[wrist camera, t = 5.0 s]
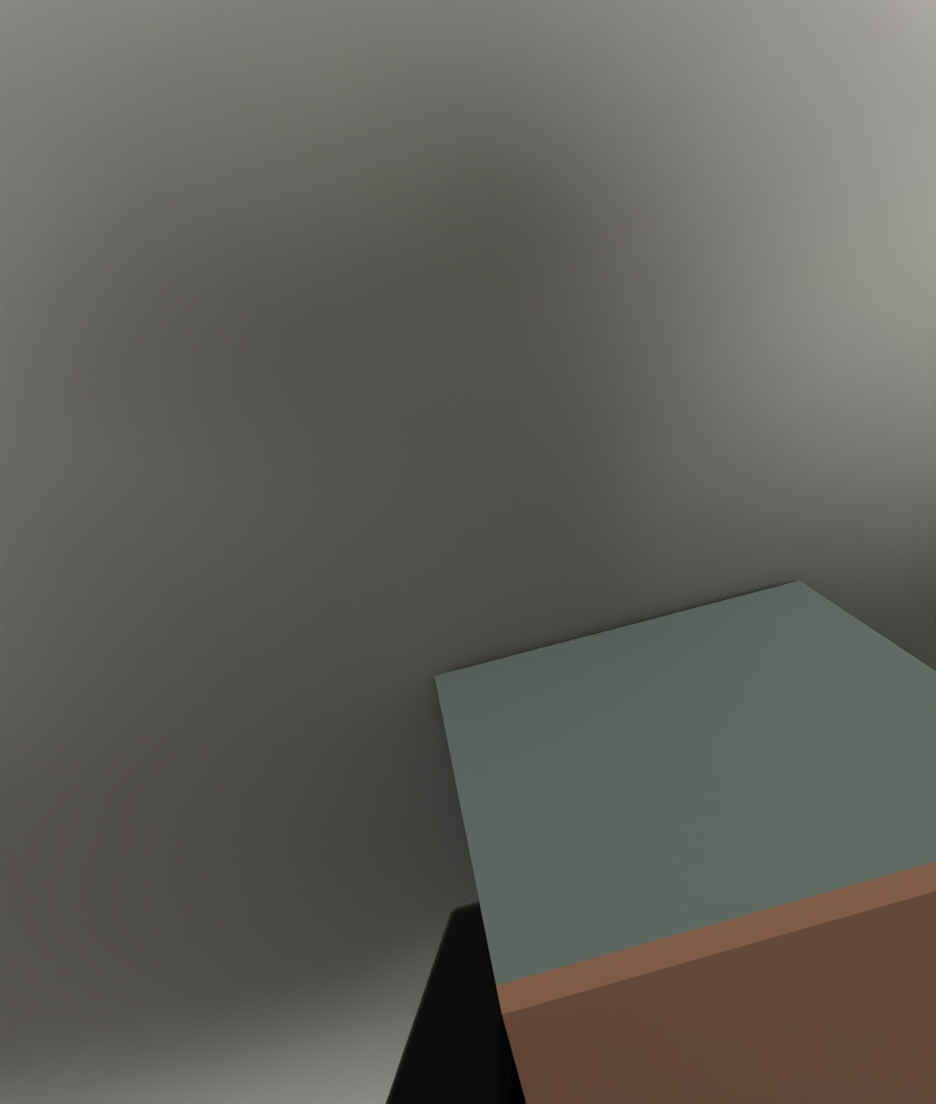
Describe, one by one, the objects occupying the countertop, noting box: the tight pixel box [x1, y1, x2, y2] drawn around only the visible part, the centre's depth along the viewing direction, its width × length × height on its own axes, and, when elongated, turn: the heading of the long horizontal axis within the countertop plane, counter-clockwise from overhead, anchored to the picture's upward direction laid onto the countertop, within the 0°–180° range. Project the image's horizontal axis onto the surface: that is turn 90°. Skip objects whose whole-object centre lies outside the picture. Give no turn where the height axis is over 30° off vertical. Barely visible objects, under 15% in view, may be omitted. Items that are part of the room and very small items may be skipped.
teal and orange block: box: [434, 581, 936, 1104], centre depth 7 cm, size 4×5×4 cm
